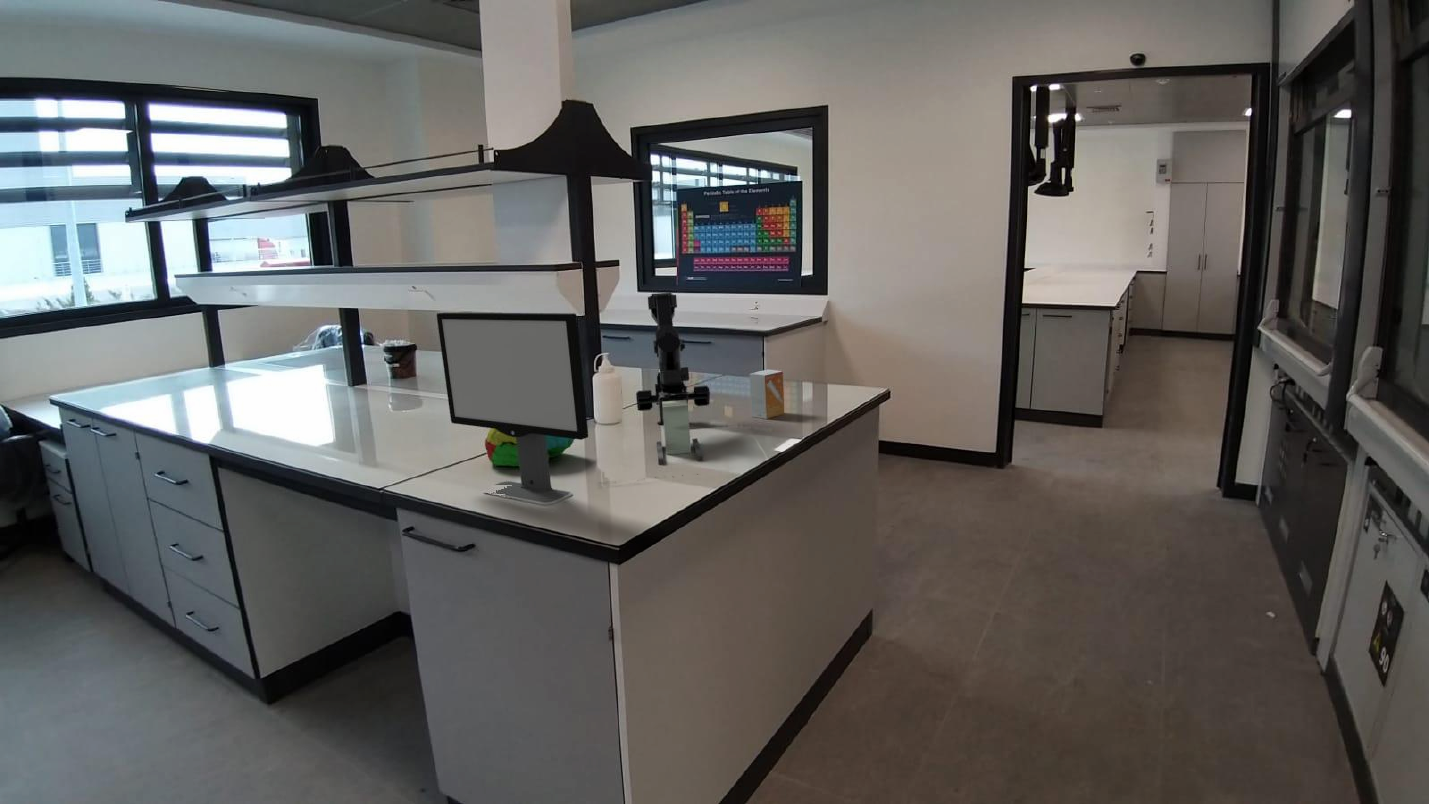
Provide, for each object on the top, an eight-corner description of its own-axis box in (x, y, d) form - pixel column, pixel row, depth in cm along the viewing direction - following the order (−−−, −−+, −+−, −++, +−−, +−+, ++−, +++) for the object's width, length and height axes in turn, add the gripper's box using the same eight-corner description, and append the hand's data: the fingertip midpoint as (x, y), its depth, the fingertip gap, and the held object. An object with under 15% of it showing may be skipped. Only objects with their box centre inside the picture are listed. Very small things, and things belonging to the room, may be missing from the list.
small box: (766, 419, 226) (764, 375, 223) (750, 416, 231) (748, 373, 228) (785, 413, 232) (783, 370, 229) (769, 411, 236) (767, 368, 233)
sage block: (665, 448, 197) (662, 401, 195) (689, 446, 198) (686, 399, 195) (666, 454, 191) (662, 406, 189) (691, 452, 192) (687, 404, 189)
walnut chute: (654, 452, 199) (653, 442, 199) (700, 448, 200) (700, 438, 200) (655, 470, 184) (654, 459, 183) (706, 466, 185) (705, 455, 184)
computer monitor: (451, 487, 181) (427, 314, 172) (480, 476, 188) (458, 310, 179) (582, 513, 158) (561, 315, 150) (609, 500, 165) (591, 310, 157)
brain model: (592, 449, 204) (584, 393, 201) (557, 472, 186) (548, 411, 183) (514, 452, 211) (505, 398, 208) (473, 473, 194) (462, 415, 191)
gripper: (633, 359, 198) (637, 411, 189) (706, 354, 199) (713, 405, 191) (635, 385, 207) (639, 435, 198) (706, 379, 208) (712, 429, 200)
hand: (676, 425), depth 197 cm, fingers closed, pressing on sage block
